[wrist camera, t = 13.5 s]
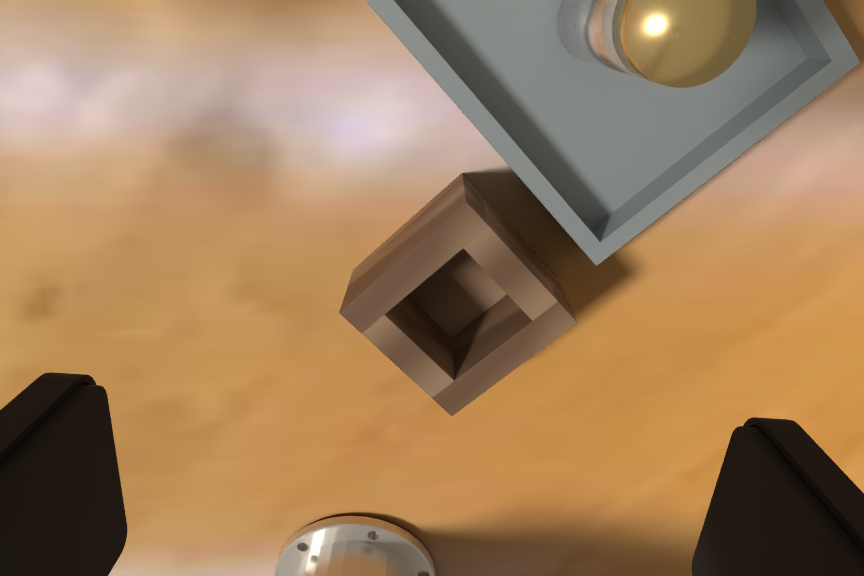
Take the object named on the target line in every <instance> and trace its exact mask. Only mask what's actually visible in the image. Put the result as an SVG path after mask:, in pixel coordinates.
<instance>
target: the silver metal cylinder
mask: <svg viewBox="0 0 864 576" xmlns="http://www.w3.org/2000/svg"><path fill="white" fill-rule="evenodd" d="M755 17H756V0H563V1H562V2H561V5H560V7H559V11H558V15H557V32H558V36H559V39H560V41H561V43H562V45H563V47H564V48H565V49H566V50H567V51H568V52H569V53H570V54H571V55H572V56H574V57H576V58H578V59H580V60H583V61H587V62H590V63H593V64H596V65H600V66H603V67H606V68H609V69H613V70H616V71H619V72H622V73H626V74H629V75H632V76H635V77H639V78H642V79H645V80H648V81H652V82H655V83H658V84H661V85H665V86H669V87H675V88H688V87H694V86H698V85H701V84H704V83H706V82H709V81H711V80H713V79H714V78H716V77H718V76H719V75H721V74H722V73H723V72H725V71H726V70H727V69H728V68H729V67H730V66H731V65H732V64H733V63H734V62H735V61H736V60H737V59H738V57H739V56H740V54H741V53H742V52H743V50H744V48H745V47H746V45H747V43H748V41H749V38H750V36H751V34H752V30H753V27H754V23H755Z"/></svg>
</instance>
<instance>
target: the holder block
mask: <svg viewBox="0 0 864 576" xmlns="http://www.w3.org/2000/svg"><path fill="white" fill-rule="evenodd" d="M339 313H340V314H341V315H342V316H343V317H344V318H345V319H346V320H348V321H349V322H350V323H351V324H352V325H353V326H354V327H355V328H356V329H357V330H358V331H360V332H361V333H362V334H363V335H364V336H365V337H366V338H367V339H368V340H369V341H370V342H372V343H373V344H374V345H375V346H376V347H377V348H378V349H379V350H380V351H381V352H382V353H383V354H385V355H386V356H387V357H388V358H389V359H390V360H391V361H392V362H393V363H394V364H395V365H397V366H398V367H399V368H400V369H401V370H402V371H403V372H404V373H405V374H406V375H407V376H409V377H410V378H411V379H412V380H413V381H414V382H415V383H416V384H417V385H418V386H419V387H421V388H422V389H423V390H424V391H425V392H426V393H427V394H428V395H429V396H430V397H431V398H433V399H434V400H435V401H436V402H437V403H438V404H439V405H440V406H441V407H442V408H443V409H444V410H446V411H447V412H448V413H449V414H450V415H451V416H453V415H454V414H456V413H457V412H458V411H460V410H461V409H462V408H464V407H465V406H466V405H468V404H469V403H470V402H472V401H473V400H474V399H476V398H477V397H478V396H480V395H481V394H482V393H484V392H485V391H486V390H488V389H489V388H490V387H492V386H493V385H495V384H496V383H497V382H499V381H500V380H501V379H503V378H504V377H505V376H507V375H508V374H509V373H511V372H512V371H513V370H515V369H516V368H517V367H519V366H520V365H521V364H523V363H524V362H525V361H527V360H528V359H529V358H531V357H532V356H533V355H535V354H536V353H537V352H539V351H540V350H541V349H543V348H544V347H545V346H547V345H548V344H549V343H551V342H552V341H554V340H555V339H556V338H558V337H559V336H560V335H562V334H563V333H564V332H566V331H567V330H568V329H570V328H571V327H572V326H574V325H575V324H576V323H577V321H576V318H575V316H574V314H573V312H572V310H571V308H570V305H569V303H568V301H567V299H566V297H565V295H564V292H563V290H562V288H561V286H560V284H559V282H558V279H557V278H556V277H555V276H554V275H553V273H552V272H551V271H550V270H549V269H548V268H547V267H546V266H545V265H544V264H543V262H542V261H541V260H540V259H539V258H538V257H537V256H536V255H535V254H534V252H533V251H532V250H531V249H530V248H529V247H528V246H527V245H526V244H525V243H524V241H523V240H522V239H521V238H520V237H519V236H518V235H517V234H516V233H515V232H514V230H513V229H512V228H511V227H510V226H509V225H508V224H507V223H506V222H505V220H504V219H503V218H502V217H501V216H500V215H499V214H498V213H497V212H496V211H495V209H494V208H493V207H492V206H491V205H490V204H489V203H488V202H487V201H486V200H485V198H484V197H483V196H482V195H481V194H480V193H479V192H478V191H477V190H476V188H475V187H474V186H473V185H472V184H471V183H470V182H469V181H468V180H467V179H466V177H465V176H464V175H463V174H460V175H459V176H458V177H457V178H456V179H455V180H454V181H453V182H451V183H450V184H449V185H448V186H447V187H446V188H445V189H444V190H442V191H441V192H440V193H439V194H438V195H437V196H436V197H435V198H434V199H432V200H431V201H430V202H429V203H428V204H427V205H426V206H425V207H423V208H422V209H421V210H420V211H419V212H418V213H417V214H416V215H414V216H413V217H412V218H411V219H410V220H409V221H408V222H407V223H405V224H404V225H403V226H402V227H401V228H400V229H399V230H398V231H396V232H395V233H394V234H393V235H392V236H391V237H390V238H389V239H388V240H386V241H385V242H384V243H383V244H382V245H381V246H380V247H379V248H377V249H376V250H375V251H374V252H373V253H372V254H371V255H370V256H368V257H367V258H366V259H365V260H364V261H363V262H362V263H361V264H359V265H358V266H357V267H356V268H355V269H354V270H353V272H352V275H351V279H350V282H349V285H348V288H347V291H346V294H345V297H344V300H343V303H342V306H341V309H340V312H339Z"/></svg>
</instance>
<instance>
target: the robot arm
mask: <svg viewBox="0 0 864 576" xmlns="http://www.w3.org/2000/svg"><path fill="white" fill-rule="evenodd" d="M126 538H127V522H126V516H125V509H124V503H123V496H122V489H121V483H120V476H119V470H118V463H117V457H116V450H115V444H114V437H113V431H112V424H111V417H110V411H109V404H108V398H107V393H106V390H105V389H104V387H102V386H97V385H96V383H95V381H94V379H93V378H92V377H91V376H89V375H82V374H66V373H45V374H43V375H41V376H40V377H38V378H37V379H36V380H35V381H34V382H33V383H32V384H30V385H29V386H28V387H27V388H26V389H25V390H23V391H22V392H21V393H20V394H19V395H18V396H16V397H15V398H14V399H13V400H12V401H11V402H9V403H8V404H7V405H6V406H5V407H4V408H2V409H1V410H0V576H108V575H109V573H110V571H111V570H112V568H113V566H114V565H115V563H116V561H117V560H118V558H119V556H120V555H121V553H122V551H123V548H124V545H125V542H126ZM274 576H435V568H434V564H433V561H432V559H431V557H430V555H429V553H428V551H427V550H426V548H425V547H424V546H423V545H422V544H421V542H420V541H419V540H418V539H416V538H415V537H414V536H413V535H411V534H410V533H409V532H407V531H405V530H404V529H402V528H400V527H398V526H396V525H394V524H391V523H389V522H386V521H383V520H380V519H375V518H370V517H364V516H341V517H332V518H328V519H324V520H320V521H317V522H315V523H313V524H311V525H308V526H306V527H304V528H303V529H301V530H300V531H298V532H297V533H295V534H294V535H293V536H292V537H291V538H290V539H289V540H288V541H287V542H286V544H285V546H284V547H283V549H282V551H281V552H280V555H279V558H278V561H277V564H276V568H275V575H274ZM692 576H864V493H863V492H862V491H861V490H860V489H859V488H858V487H857V486H856V485H855V484H854V483H853V482H852V481H851V480H850V479H849V477H848V476H847V475H846V474H845V473H844V472H843V471H842V470H841V469H840V468H839V467H838V466H837V465H836V464H835V463H834V462H833V461H832V459H831V458H830V457H829V456H828V455H827V454H826V453H825V452H824V451H823V450H822V449H821V448H820V447H819V446H818V445H817V444H816V443H815V441H814V440H813V439H812V438H811V437H810V436H809V435H808V434H807V433H806V432H805V431H804V430H803V429H802V428H801V427H800V426H799V425H798V424H797V423H796V422H794V421H792V420H785V419H770V418H754V417H753V418H750V419H748V420H747V421H746V422H745V423H744V426H740V427H737V428H736V429H735V430H734V431H733V433H732V436H731V439H730V442H729V445H728V448H727V452H726V455H725V458H724V461H723V464H722V468H721V471H720V474H719V477H718V480H717V483H716V487H715V490H714V493H713V496H712V499H711V502H710V506H709V509H708V512H707V515H706V518H705V522H704V525H703V528H702V531H701V534H700V537H699V541H698V544H697V547H696V550H695V553H694V557H693V561H692Z"/></svg>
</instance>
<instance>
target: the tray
mask: <svg viewBox="0 0 864 576" xmlns="http://www.w3.org/2000/svg"><path fill="white" fill-rule="evenodd" d="M365 1H366V2H367V3H368V4H369V5H370V6H371V8H372V9H373V10H374V11H375V12H376V13H377V14H378V16H379V17H380V18H381V19H382V20H383V21H384V22H385V24H386V25H387V26H388V27H389V28H390V29H391V31H392V32H393V33H394V34H395V35H396V36H397V37H398V39H399V40H400V41H401V42H402V43H403V44H404V45H405V47H406V48H407V49H408V50H409V51H410V52H411V54H412V55H413V56H414V57H415V58H416V59H417V60H418V62H419V63H420V64H421V65H422V66H423V67H424V68H425V70H426V71H427V72H428V73H429V74H430V75H431V77H432V78H433V79H434V80H435V81H436V82H437V83H438V85H439V86H440V87H441V88H442V89H443V90H444V91H445V93H446V94H447V95H448V96H449V97H450V98H451V99H452V101H453V102H454V103H455V104H456V105H457V106H458V108H459V109H460V110H461V111H462V112H463V113H464V114H465V116H466V117H467V118H468V119H469V120H470V121H471V122H472V124H473V125H474V126H475V127H476V128H477V129H478V131H479V132H480V133H481V134H482V135H483V136H484V137H485V139H486V140H487V141H488V142H489V143H490V144H491V145H492V147H493V148H494V149H495V150H496V151H497V152H498V154H499V155H500V156H501V157H502V158H503V159H504V160H505V162H506V163H507V164H508V165H509V166H510V167H511V168H512V170H513V171H514V172H515V173H516V174H517V175H518V176H519V178H520V179H521V180H522V181H523V182H524V183H525V185H526V186H527V187H528V188H529V189H530V190H531V191H532V193H533V194H534V195H535V196H536V197H537V198H538V199H539V201H540V202H541V203H542V204H543V205H544V206H545V208H546V209H547V210H548V211H549V212H550V213H551V214H552V216H553V217H554V218H555V219H556V220H557V221H558V222H559V224H560V225H561V226H562V227H563V228H564V229H565V231H566V232H567V233H568V234H569V235H570V236H571V237H572V239H573V240H574V241H575V242H576V243H577V244H578V245H579V247H580V248H581V249H582V250H583V251H584V252H585V253H586V255H587V256H588V257H589V258H590V259H591V260H592V262H593V263H594V264H595V265H596V266H597V265H598V264H600V263H601V262H602V261H603V260H605V259H606V258H607V257H609V256H610V255H611V254H613V253H614V252H615V251H616V250H618V249H619V248H620V247H622V246H623V245H624V244H626V243H627V242H628V241H629V240H631V239H632V238H633V237H635V236H636V235H637V234H639V233H640V232H641V231H642V230H644V229H645V228H646V227H648V226H649V225H650V224H652V223H653V222H654V221H655V220H657V219H658V218H659V217H661V216H662V215H663V214H664V213H666V212H667V211H668V210H670V209H671V208H672V207H674V206H675V205H676V204H677V203H679V202H680V201H681V200H683V199H684V198H685V197H687V196H688V195H689V194H690V193H692V192H693V191H694V190H696V189H697V188H698V187H700V186H701V185H702V184H703V183H705V182H706V181H707V180H709V179H710V178H711V177H713V176H714V175H715V174H716V173H718V172H719V171H720V170H722V169H723V168H724V167H726V166H727V165H728V164H729V163H731V162H732V161H733V160H735V159H736V158H737V157H739V156H740V155H741V154H742V153H744V152H745V151H746V150H748V149H749V148H750V147H751V146H753V145H754V144H755V143H757V142H758V141H759V140H761V139H762V138H763V137H764V136H766V135H767V134H768V133H770V132H771V131H772V130H774V129H775V128H776V127H777V126H779V125H780V124H781V123H783V122H784V121H785V120H787V119H788V118H789V117H790V116H792V115H793V114H794V113H796V112H797V111H798V110H800V109H801V108H802V107H803V106H805V105H806V104H807V103H809V102H810V101H811V100H813V99H814V98H815V97H816V96H818V95H819V94H820V93H822V92H823V91H824V90H826V89H827V88H828V87H829V86H831V85H832V84H833V83H835V82H836V81H837V80H838V79H840V78H841V77H842V76H844V75H845V74H846V73H848V72H849V71H850V70H851V69H853V68H854V67H855V66H857V65H858V64H859V63H861V62H860V60H859V59H858V57H857V55H856V54H855V52H854V50H853V49H852V47H851V45H850V44H849V42H848V40H847V39H846V37H845V35H844V34H843V32H842V30H841V29H840V27H839V25H838V24H837V22H836V20H835V19H834V17H833V15H832V13H831V12H830V10H829V8H828V7H827V5H826V3H825V2H824V0H756V17H755V23H754V27H753V30H752V34H751V36H750V38H749V41H748V43H747V45H746V47H745V48H744V50H743V52H742V53H741V54H740V56H739V57H738V59H737V60H736V61H735V62H734V63H733V64H732V65H731V66H730V67H729V68H728V69H727V70H726V71H725V72H723V73H722V74H721V75H719V76H718V77H716V78H714V79H713V80H711V81H709V82H706V83H704V84H701V85H698V86H694V87H688V88H675V87H669V86H665V85H661V84H658V83H655V82H652V81H648V80H645V79H642V78H639V77H635V76H632V75H629V74H626V73H622V72H619V71H616V70H613V69H609V68H606V67H603V66H600V65H596V64H593V63H590V62H587V61H583V60H580V59H578V58H576V57H574V56H572V55H571V54H570V53H569V52H568V51H567V50H566V49H565V48H564V47H563V45H562V43H561V41H560V39H559V36H558V32H557V15H558V11H559V7H560V5H561V2H562V1H563V0H365Z"/></svg>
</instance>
